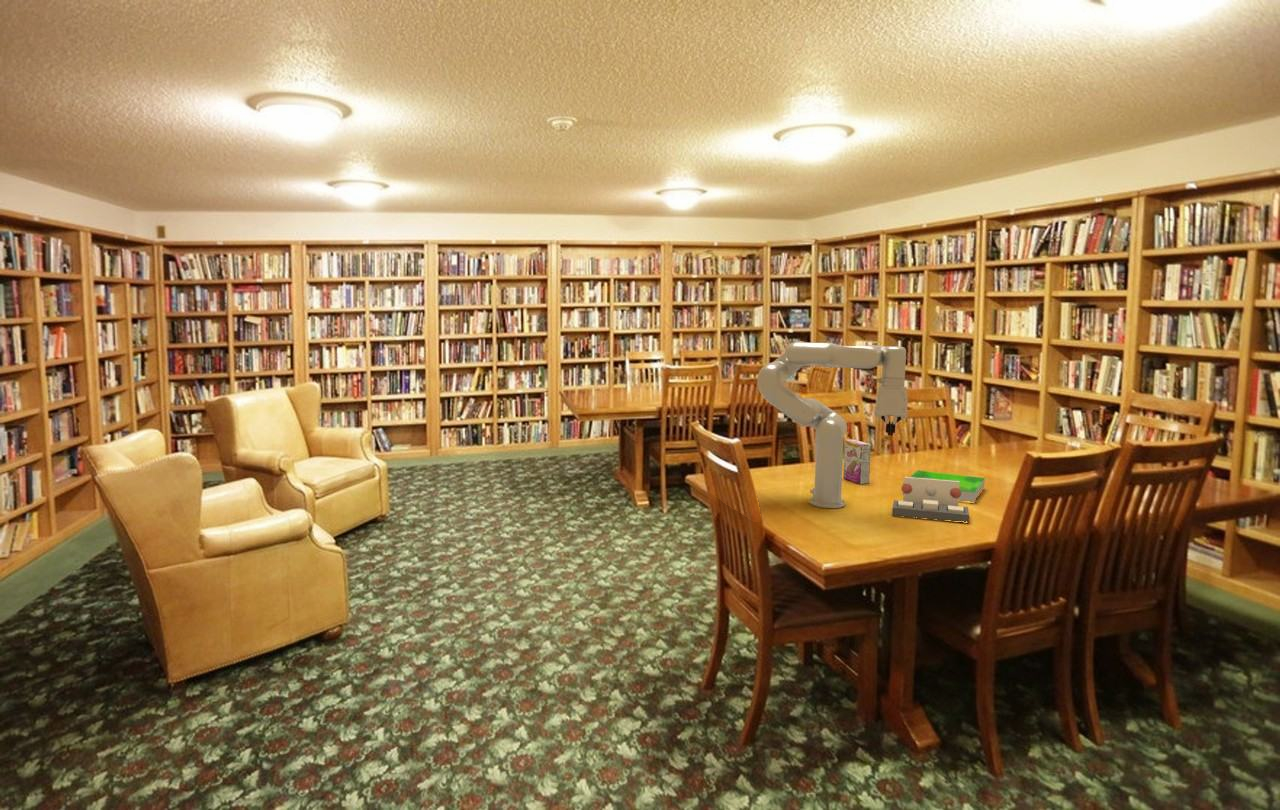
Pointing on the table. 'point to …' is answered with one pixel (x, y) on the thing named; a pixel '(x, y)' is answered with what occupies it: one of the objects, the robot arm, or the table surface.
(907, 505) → the button
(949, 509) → the button
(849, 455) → the candy bar box
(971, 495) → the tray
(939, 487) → the button panel
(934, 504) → the middle button
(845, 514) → the table surface
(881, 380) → the robot arm
